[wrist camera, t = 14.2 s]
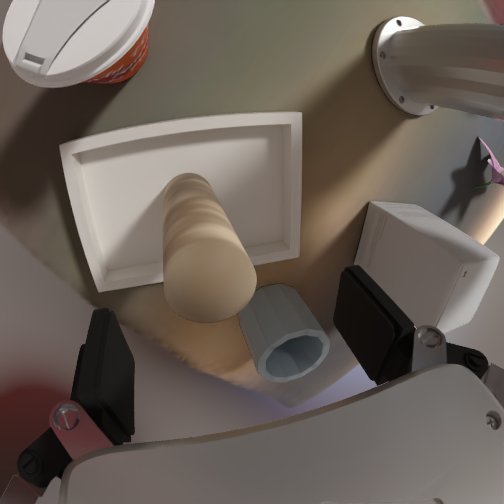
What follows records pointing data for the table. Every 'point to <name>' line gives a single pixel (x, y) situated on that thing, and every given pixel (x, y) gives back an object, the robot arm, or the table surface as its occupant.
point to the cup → (282, 334)
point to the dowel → (202, 254)
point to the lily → (494, 170)
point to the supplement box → (425, 264)
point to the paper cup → (76, 40)
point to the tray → (171, 165)
